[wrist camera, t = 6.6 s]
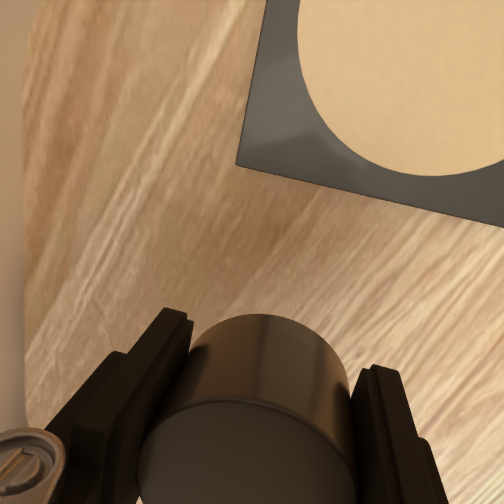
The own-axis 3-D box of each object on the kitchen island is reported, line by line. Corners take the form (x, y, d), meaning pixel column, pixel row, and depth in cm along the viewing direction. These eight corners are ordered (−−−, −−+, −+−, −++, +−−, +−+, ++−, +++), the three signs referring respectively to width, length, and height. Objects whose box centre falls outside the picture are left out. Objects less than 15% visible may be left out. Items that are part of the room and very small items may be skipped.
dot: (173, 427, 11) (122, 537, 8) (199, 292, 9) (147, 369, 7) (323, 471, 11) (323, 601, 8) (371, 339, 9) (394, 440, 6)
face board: (237, 163, 22) (234, 166, 21) (314, -236, 16) (314, -257, 16) (545, 235, 21) (556, 241, 20) (737, -167, 15) (765, -186, 14)
